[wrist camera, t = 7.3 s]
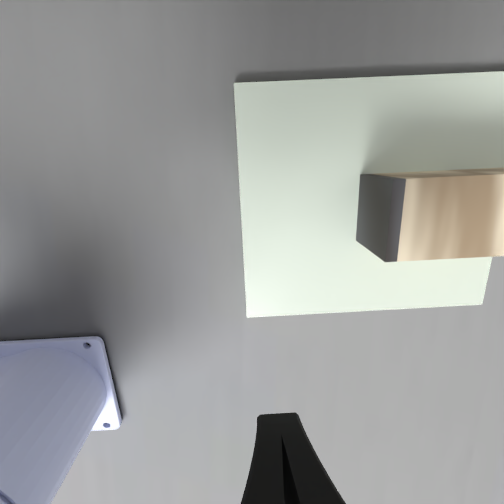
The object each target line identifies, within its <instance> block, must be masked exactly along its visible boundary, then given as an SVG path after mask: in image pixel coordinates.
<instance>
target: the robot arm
mask: <svg viewBox="0 0 504 504" xmlns="http://www.w3.org/2000/svg"><path fill="white" fill-rule="evenodd" d="M86 343H89V344H90V345H91V346H89V345H87V344H86ZM121 423H122V419H121V415H120V410H119V406H118V402H117V397H116V393H115V389H114V384H113V380H112V376H111V371H110V367H109V363H108V358H107V354H106V350H105V345H104V342H103V340H102V339H101V338H100V337H98V336H90V337H72V338H54V339H36V340H18V341H1V342H0V504H51V502H52V501H53V499H54V497H55V495H56V493H57V491H58V490H59V488H60V486H61V484H62V482H63V481H64V479H65V477H66V475H67V473H68V472H69V470H70V468H71V466H72V464H73V462H74V461H75V459H76V457H77V455H78V453H79V452H80V450H81V448H82V446H83V444H84V442H85V441H86V439H87V437H88V435H89V433H90V432H91V431H96V430H113V429H118V428H119V427H120V425H121ZM241 504H346V503H345V502H344V500H343V499H342V497H341V495H340V494H339V492H338V491H337V489H336V487H335V486H334V484H333V483H332V481H331V479H330V477H329V476H328V474H327V472H326V470H325V469H324V467H323V465H322V463H321V462H320V460H319V458H318V456H317V454H316V453H315V451H314V449H313V447H312V445H311V443H310V441H309V439H308V437H307V435H306V432H305V430H304V428H303V426H302V423H301V421H300V418H299V416H298V414H296V413H280V414H264V415H259V416H258V417H257V433H256V441H255V447H254V453H253V458H252V462H251V467H250V471H249V476H248V480H247V484H246V487H245V491H244V494H243V498H242V501H241Z"/></svg>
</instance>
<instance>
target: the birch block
mask: <svg viewBox="0 0 504 504" xmlns="http://www.w3.org/2000/svg"><path fill="white" fill-rule="evenodd" d="M356 241H357V242H358V243H360V244H361V245H363V246H364V247H365V248H367V249H368V250H369V251H371V252H372V253H373V254H375V255H376V256H377V257H379V258H380V259H381V260H383V261H384V262H399V261H418V260H437V259H456V258H475V257H494V256H504V167H502V168H481V169H461V170H440V171H419V172H398V173H378V174H360V183H359V199H358V214H357V229H356Z"/></svg>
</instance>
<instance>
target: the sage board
mask: <svg viewBox="0 0 504 504" xmlns="http://www.w3.org/2000/svg"><path fill="white" fill-rule="evenodd" d="M234 98H235V116H236V134H237V151H238V169H239V187H240V204H241V222H242V240H243V257H244V275H245V293H246V310H247V318H248V317H266V316H284V315H302V314H320V313H338V312H356V311H374V310H392V309H410V308H428V307H446V306H464V305H482V302H483V298H484V293H485V288H486V284H487V279H488V274H489V270H490V265H491V261H492V257H475V258H456V259H437V260H418V261H399V262H384V261H383V260H381V259H380V258H379V257H377V256H376V255H375V254H373V253H372V252H371V251H369V250H368V249H367V248H365V247H364V246H363V245H361V244H360V243H358V242H357V241H356V229H357V214H358V199H359V183H360V174H378V173H398V172H419V171H440V170H461V169H481V168H502V167H504V71H498V72H475V73H452V74H429V75H405V76H382V77H359V78H336V79H313V80H290V81H266V82H243V83H234Z"/></svg>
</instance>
